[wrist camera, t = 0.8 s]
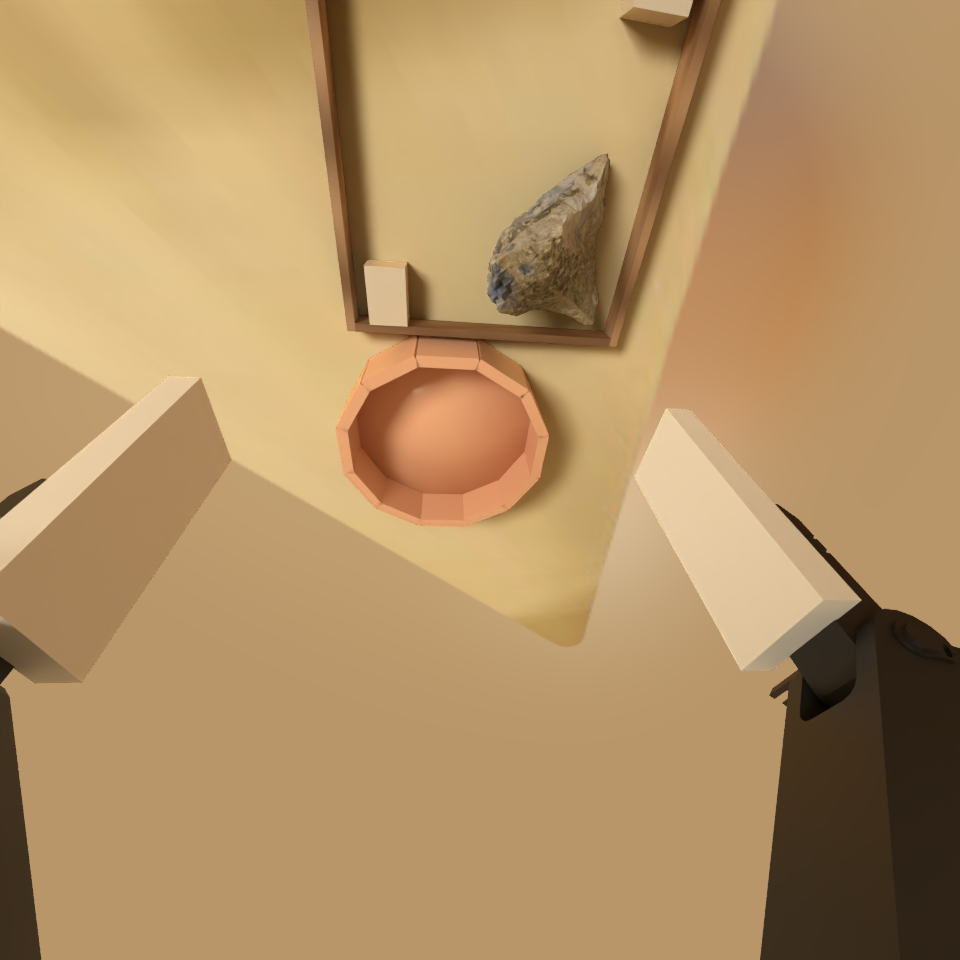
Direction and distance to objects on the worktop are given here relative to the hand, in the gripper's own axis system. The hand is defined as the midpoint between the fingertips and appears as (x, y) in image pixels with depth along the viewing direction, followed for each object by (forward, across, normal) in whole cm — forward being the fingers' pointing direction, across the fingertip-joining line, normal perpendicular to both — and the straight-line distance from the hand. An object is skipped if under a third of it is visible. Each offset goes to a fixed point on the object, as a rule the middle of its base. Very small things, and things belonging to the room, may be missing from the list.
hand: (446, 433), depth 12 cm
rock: (+19, +5, +6) cm, 21 cm away
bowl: (+22, +1, -14) cm, 27 cm away
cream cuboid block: (+23, -4, -2) cm, 23 cm away
